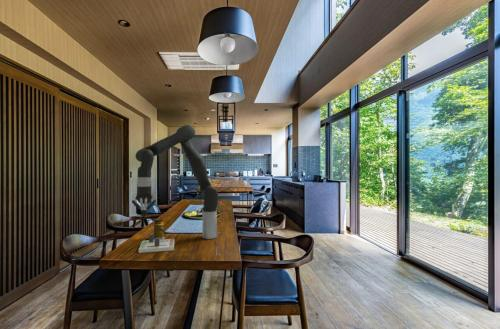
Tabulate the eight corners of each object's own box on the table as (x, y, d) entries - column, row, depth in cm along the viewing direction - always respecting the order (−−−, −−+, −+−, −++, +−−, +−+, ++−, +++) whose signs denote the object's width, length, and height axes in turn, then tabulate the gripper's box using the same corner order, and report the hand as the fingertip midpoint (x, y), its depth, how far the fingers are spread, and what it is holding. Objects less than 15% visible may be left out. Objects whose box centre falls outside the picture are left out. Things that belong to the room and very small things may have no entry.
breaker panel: (174, 242, 159) (174, 238, 159) (173, 250, 143) (173, 246, 143) (142, 244, 154) (143, 240, 154) (138, 253, 138) (138, 249, 138)
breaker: (153, 240, 153) (153, 233, 154) (153, 241, 151) (153, 234, 151) (149, 240, 153) (149, 234, 153) (148, 242, 150) (148, 235, 150)
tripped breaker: (159, 244, 146) (159, 237, 146) (159, 245, 143) (159, 238, 143) (154, 244, 145) (155, 237, 145) (154, 246, 143) (154, 239, 143)
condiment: (165, 238, 167) (165, 219, 167) (151, 240, 162) (151, 221, 162) (162, 235, 173) (162, 217, 173) (149, 237, 168) (149, 219, 168)
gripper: (157, 184, 148) (157, 215, 148) (132, 185, 145) (132, 216, 145) (156, 185, 141) (155, 217, 141) (129, 186, 137) (129, 218, 137)
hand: (143, 216), depth 143 cm, fingers closed
